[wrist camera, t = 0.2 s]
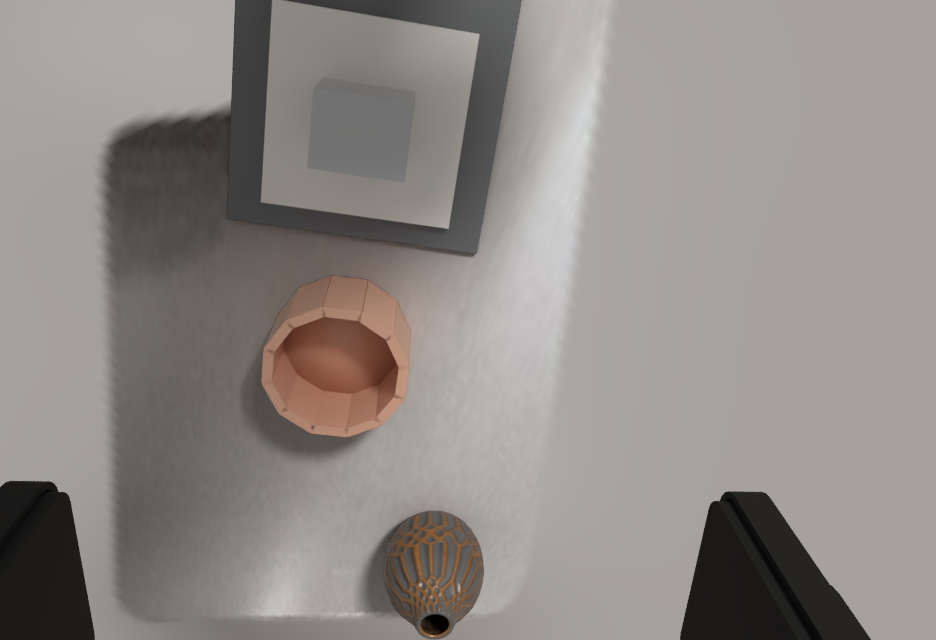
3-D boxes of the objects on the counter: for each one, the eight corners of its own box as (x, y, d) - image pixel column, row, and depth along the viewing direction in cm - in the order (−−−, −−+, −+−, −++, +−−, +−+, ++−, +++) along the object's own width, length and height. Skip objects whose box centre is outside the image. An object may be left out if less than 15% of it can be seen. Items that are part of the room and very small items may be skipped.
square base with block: (274, -2, 40) (255, 0, 35) (478, 33, 41) (485, 40, 37) (262, 199, 44) (244, 225, 40) (448, 225, 46) (451, 253, 41)
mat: (243, -173, 37) (241, -175, 37) (540, -114, 39) (541, -115, 39) (228, 217, 45) (227, 219, 45) (476, 251, 47) (476, 253, 47)
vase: (410, 582, 58) (409, 679, 50) (369, 516, 55) (360, 608, 47) (494, 549, 57) (506, 643, 49) (456, 481, 54) (462, 568, 46)
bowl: (281, 268, 47) (266, 299, 42) (417, 286, 48) (416, 318, 43) (273, 386, 50) (258, 427, 45) (400, 401, 51) (398, 442, 46)
